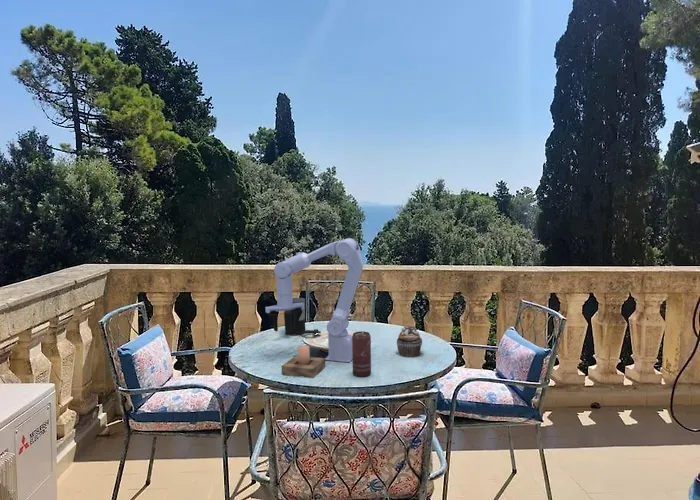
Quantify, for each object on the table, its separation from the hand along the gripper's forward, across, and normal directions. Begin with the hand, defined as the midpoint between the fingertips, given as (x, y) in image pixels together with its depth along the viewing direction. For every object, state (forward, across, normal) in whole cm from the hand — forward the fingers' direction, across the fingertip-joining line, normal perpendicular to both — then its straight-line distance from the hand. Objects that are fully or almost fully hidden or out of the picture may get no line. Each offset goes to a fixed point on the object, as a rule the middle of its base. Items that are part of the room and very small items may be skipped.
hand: (285, 329), depth 195 cm
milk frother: (+10, -17, -25) cm, 31 cm away
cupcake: (+10, -41, +21) cm, 47 cm away
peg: (+10, +1, +19) cm, 21 cm away
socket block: (+10, +1, +19) cm, 22 cm away
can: (+10, -15, +32) cm, 37 cm away
